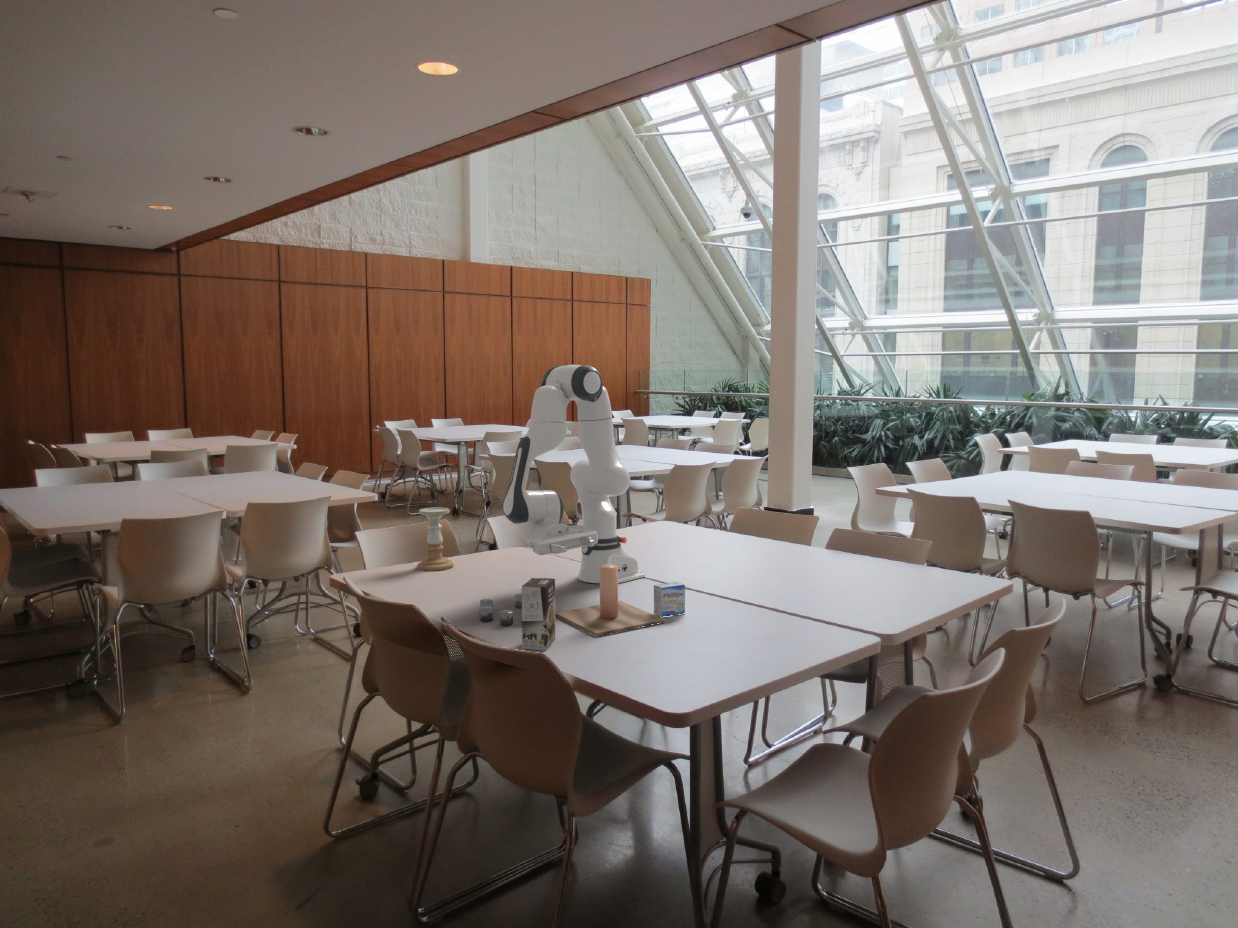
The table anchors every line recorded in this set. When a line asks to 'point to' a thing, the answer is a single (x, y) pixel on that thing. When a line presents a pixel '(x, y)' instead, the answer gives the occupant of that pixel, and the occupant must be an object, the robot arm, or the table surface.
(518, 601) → the posts
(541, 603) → the coffee box
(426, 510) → the candle holder
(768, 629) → the table surface
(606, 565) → the peach rounded cylinder
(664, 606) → the medicine box
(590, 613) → the walnut board
